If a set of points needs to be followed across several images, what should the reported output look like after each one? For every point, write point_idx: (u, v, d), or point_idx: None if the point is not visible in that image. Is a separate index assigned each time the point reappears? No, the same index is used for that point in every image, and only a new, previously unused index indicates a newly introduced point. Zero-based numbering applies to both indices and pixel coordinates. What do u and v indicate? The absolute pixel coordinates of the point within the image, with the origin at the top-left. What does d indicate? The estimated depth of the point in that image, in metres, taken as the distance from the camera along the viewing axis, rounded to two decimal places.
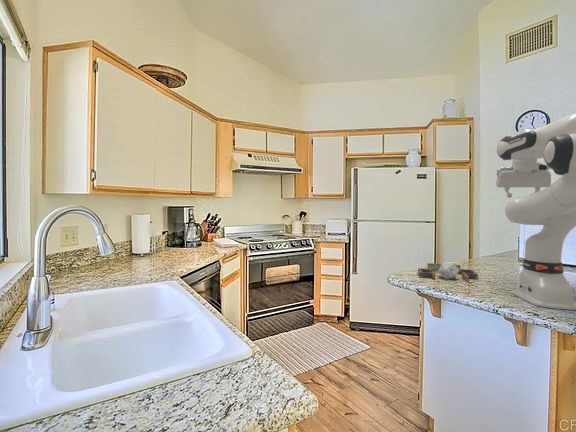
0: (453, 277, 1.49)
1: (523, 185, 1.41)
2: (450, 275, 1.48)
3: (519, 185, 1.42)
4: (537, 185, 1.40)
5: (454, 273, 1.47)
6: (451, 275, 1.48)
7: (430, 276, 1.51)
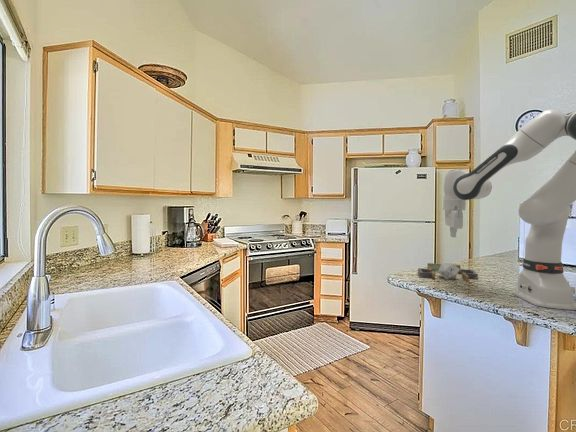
0: (453, 277, 1.49)
1: None
2: (450, 275, 1.48)
3: None
4: None
5: (454, 273, 1.47)
6: (451, 275, 1.48)
7: (430, 276, 1.51)
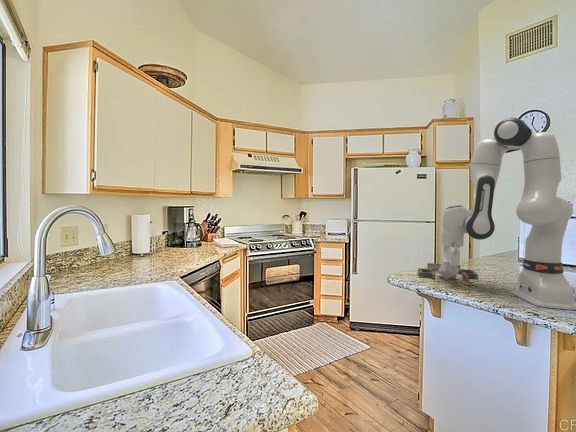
0: (453, 277, 1.49)
1: None
2: (450, 275, 1.48)
3: None
4: None
5: (454, 273, 1.47)
6: (451, 275, 1.48)
7: (430, 276, 1.51)
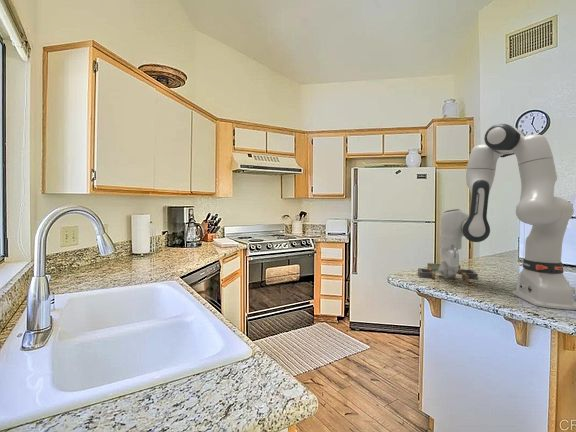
0: (452, 276, 1.50)
1: None
2: (449, 274, 1.49)
3: None
4: None
5: (453, 272, 1.48)
6: (450, 274, 1.49)
7: (430, 276, 1.51)
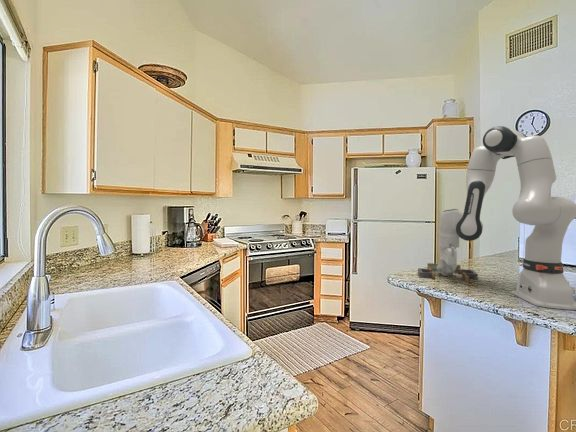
0: (450, 274, 1.55)
1: None
2: (448, 272, 1.54)
3: None
4: None
5: (451, 270, 1.53)
6: (448, 272, 1.54)
7: (430, 276, 1.51)
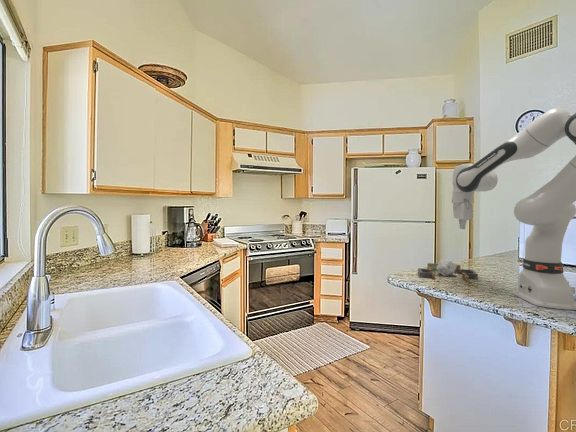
0: (450, 274, 1.55)
1: None
2: (448, 272, 1.54)
3: None
4: None
5: (451, 270, 1.53)
6: (449, 272, 1.54)
7: (430, 276, 1.51)
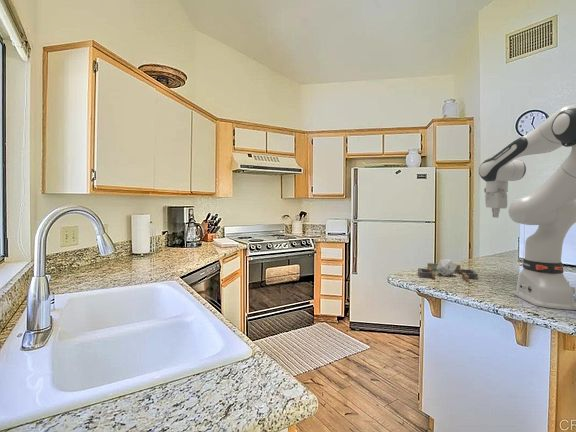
0: (450, 274, 1.55)
1: None
2: (448, 272, 1.54)
3: None
4: None
5: (451, 270, 1.53)
6: (449, 272, 1.54)
7: (430, 276, 1.51)
